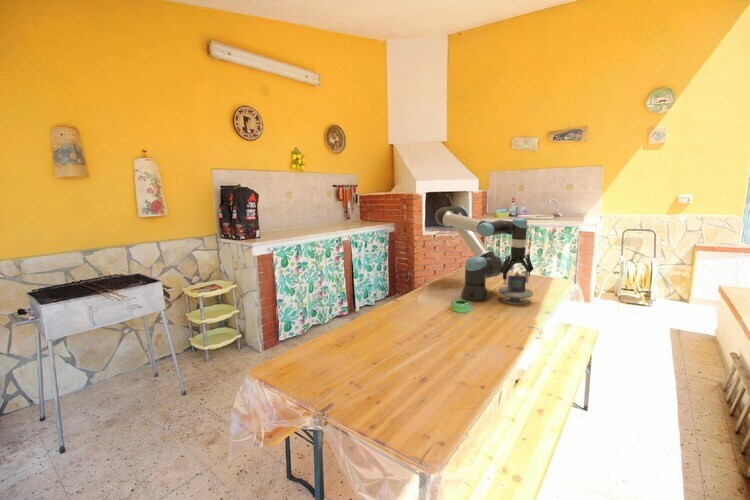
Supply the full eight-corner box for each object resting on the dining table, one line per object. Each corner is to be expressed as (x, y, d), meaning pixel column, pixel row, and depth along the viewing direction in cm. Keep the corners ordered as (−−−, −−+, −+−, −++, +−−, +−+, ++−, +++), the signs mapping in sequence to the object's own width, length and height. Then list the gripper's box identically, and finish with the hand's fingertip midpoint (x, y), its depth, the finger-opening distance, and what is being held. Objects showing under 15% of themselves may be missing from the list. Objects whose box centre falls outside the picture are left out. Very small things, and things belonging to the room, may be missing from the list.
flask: (507, 291, 200) (508, 273, 198) (507, 289, 203) (508, 271, 201) (525, 292, 198) (526, 273, 196) (524, 290, 201) (525, 272, 199)
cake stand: (511, 308, 191) (512, 297, 190) (491, 298, 208) (492, 288, 207) (539, 304, 196) (540, 294, 194) (518, 295, 213) (518, 285, 211)
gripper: (502, 249, 189) (500, 287, 193) (542, 246, 196) (539, 283, 200) (494, 246, 196) (492, 283, 200) (532, 243, 203) (530, 279, 207)
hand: (516, 283), depth 200 cm, fingers open, 13 cm apart
